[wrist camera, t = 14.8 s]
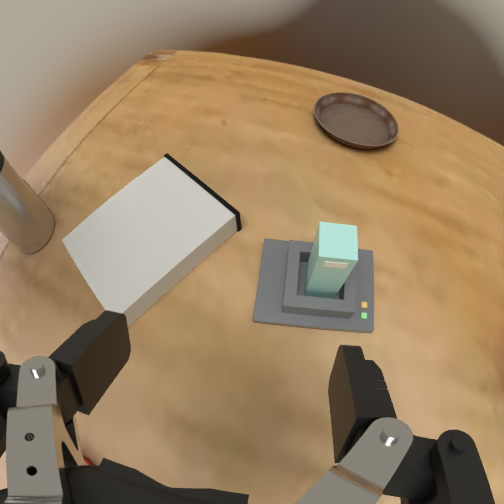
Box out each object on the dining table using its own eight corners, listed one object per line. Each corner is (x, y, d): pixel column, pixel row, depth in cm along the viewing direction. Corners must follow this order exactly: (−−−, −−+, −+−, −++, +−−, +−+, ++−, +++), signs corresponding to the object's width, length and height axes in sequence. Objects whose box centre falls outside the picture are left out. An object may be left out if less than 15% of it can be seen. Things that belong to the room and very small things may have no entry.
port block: (253, 322, 40) (252, 313, 37) (264, 241, 45) (264, 227, 42) (370, 333, 39) (381, 326, 35) (370, 253, 44) (379, 240, 41)
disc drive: (242, 230, 47) (240, 211, 43) (128, 331, 40) (113, 322, 36) (173, 172, 53) (167, 152, 49) (74, 252, 46) (60, 238, 42)
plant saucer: (349, 94, 63) (351, 84, 60) (409, 137, 56) (413, 127, 54) (294, 118, 59) (295, 107, 56) (360, 170, 52) (364, 158, 49)
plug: (303, 296, 40) (318, 256, 30) (305, 268, 42) (319, 221, 32) (333, 299, 40) (358, 260, 29) (334, 271, 42) (356, 225, 31)
